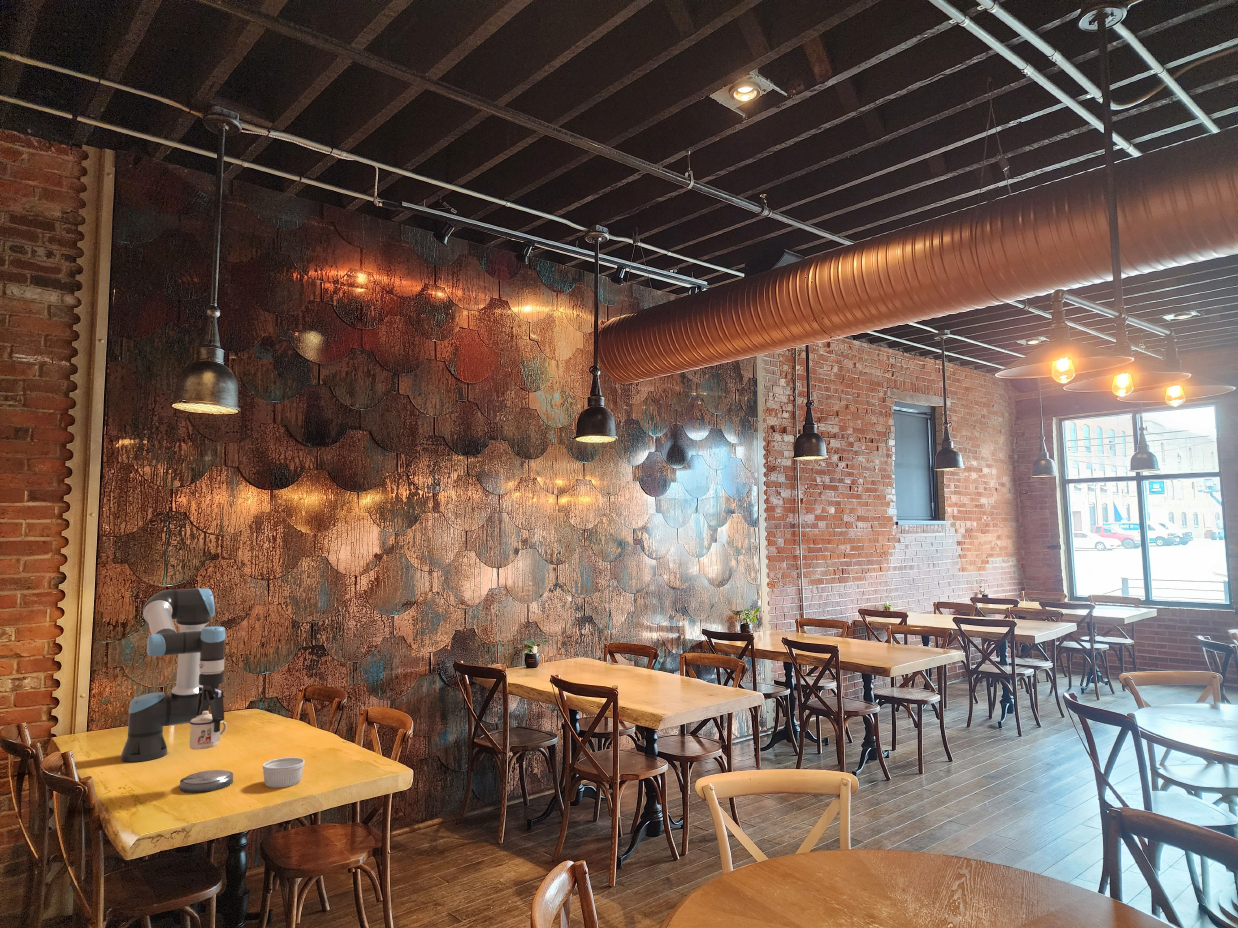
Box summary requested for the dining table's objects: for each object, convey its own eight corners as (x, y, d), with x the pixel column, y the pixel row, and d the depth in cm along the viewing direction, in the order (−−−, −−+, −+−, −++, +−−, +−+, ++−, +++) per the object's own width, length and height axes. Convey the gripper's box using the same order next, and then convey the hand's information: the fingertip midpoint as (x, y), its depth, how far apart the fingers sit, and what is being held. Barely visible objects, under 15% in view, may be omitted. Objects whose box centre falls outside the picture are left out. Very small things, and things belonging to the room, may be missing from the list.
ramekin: (292, 774, 268) (293, 754, 268) (311, 782, 259) (312, 761, 260) (255, 784, 257) (255, 763, 258) (273, 792, 249) (274, 770, 250)
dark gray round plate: (171, 786, 255) (171, 777, 256) (220, 774, 268) (220, 766, 268) (192, 796, 245) (192, 786, 246) (241, 783, 258) (241, 774, 258)
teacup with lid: (197, 751, 250) (198, 715, 252) (183, 747, 256) (185, 712, 257) (232, 743, 260) (234, 708, 261) (218, 739, 265) (220, 705, 267)
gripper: (186, 670, 264) (183, 736, 262) (214, 677, 251) (211, 746, 248) (208, 667, 270) (205, 732, 268) (237, 673, 257) (234, 741, 254)
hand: (208, 739), depth 258 cm, fingers closed on teacup with lid, 9 cm apart
